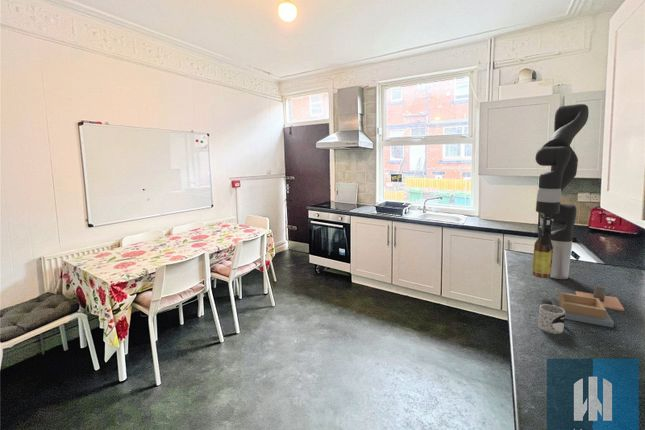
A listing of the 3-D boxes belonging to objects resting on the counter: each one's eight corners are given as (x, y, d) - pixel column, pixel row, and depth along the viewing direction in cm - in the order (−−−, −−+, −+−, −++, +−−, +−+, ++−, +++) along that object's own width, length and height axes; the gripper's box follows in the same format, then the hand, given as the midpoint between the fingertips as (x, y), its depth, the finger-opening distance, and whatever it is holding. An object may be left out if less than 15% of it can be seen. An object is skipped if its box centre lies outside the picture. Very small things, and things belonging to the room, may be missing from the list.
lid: (575, 293, 131) (577, 279, 130) (616, 300, 124) (618, 285, 123) (579, 304, 121) (581, 289, 120) (624, 312, 114) (626, 296, 113)
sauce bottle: (553, 279, 125) (559, 229, 121) (535, 278, 126) (540, 228, 123) (545, 273, 131) (550, 225, 128) (528, 272, 133) (533, 225, 129)
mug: (555, 336, 99) (558, 315, 98) (533, 326, 105) (535, 307, 104) (573, 328, 104) (575, 308, 102) (550, 319, 109) (552, 300, 108)
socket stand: (551, 300, 124) (552, 289, 123) (601, 308, 116) (603, 297, 115) (555, 316, 111) (557, 304, 110) (613, 327, 103) (615, 314, 103)
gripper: (563, 203, 116) (558, 248, 119) (558, 198, 128) (553, 239, 131) (538, 202, 119) (533, 246, 122) (535, 197, 132) (531, 238, 135)
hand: (544, 242), depth 127 cm, fingers closed on sauce bottle, 5 cm apart
